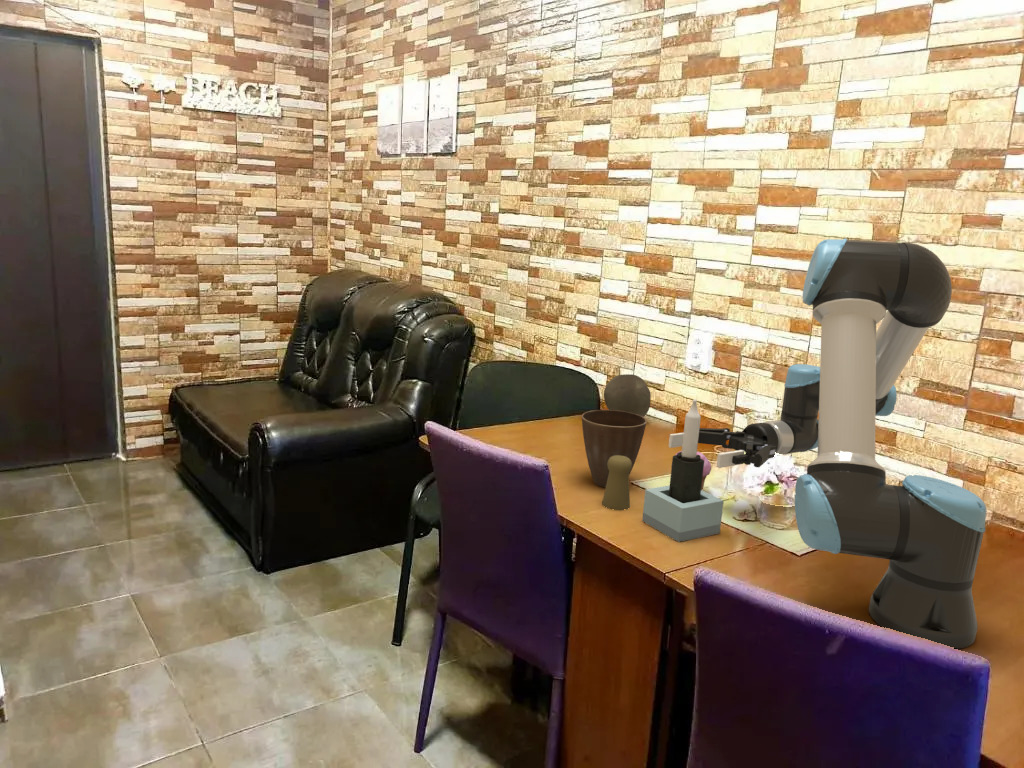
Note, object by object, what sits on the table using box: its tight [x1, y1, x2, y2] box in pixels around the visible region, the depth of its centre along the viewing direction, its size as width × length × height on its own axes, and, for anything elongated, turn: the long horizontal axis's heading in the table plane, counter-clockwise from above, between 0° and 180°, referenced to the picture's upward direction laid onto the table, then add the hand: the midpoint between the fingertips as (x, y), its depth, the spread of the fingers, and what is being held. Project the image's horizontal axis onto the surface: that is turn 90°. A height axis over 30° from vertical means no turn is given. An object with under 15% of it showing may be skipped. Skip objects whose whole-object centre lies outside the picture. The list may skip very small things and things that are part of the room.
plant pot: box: [581, 409, 648, 489], centre depth 174 cm, size 15×15×16 cm
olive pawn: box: [601, 455, 633, 511], centre depth 161 cm, size 6×6×11 cm
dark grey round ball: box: [603, 373, 652, 418], centre depth 230 cm, size 14×14×15 cm
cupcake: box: [671, 450, 712, 491], centre depth 172 cm, size 9×9×10 cm
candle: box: [669, 398, 704, 503], centre depth 149 cm, size 5×5×25 cm
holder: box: [641, 484, 725, 543], centre depth 151 cm, size 11×11×7 cm
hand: (693, 450), depth 149 cm, fingers open, 13 cm apart
